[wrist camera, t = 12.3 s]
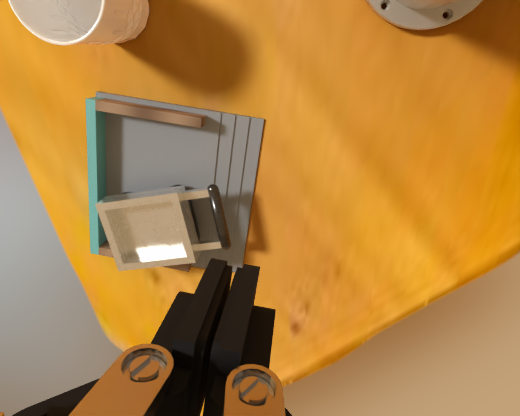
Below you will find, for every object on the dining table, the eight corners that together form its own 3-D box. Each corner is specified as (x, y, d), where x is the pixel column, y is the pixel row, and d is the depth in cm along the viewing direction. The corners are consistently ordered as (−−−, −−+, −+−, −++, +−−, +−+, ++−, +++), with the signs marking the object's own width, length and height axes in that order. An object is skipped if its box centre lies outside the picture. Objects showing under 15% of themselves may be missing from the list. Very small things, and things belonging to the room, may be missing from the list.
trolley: (222, 173, 41) (212, 187, 36) (237, 238, 44) (229, 259, 39) (117, 188, 43) (95, 204, 38) (137, 249, 46) (118, 270, 41)
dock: (264, 119, 39) (261, 122, 37) (241, 272, 46) (237, 284, 44) (98, 91, 40) (85, 93, 37) (101, 246, 47) (90, 256, 45)
